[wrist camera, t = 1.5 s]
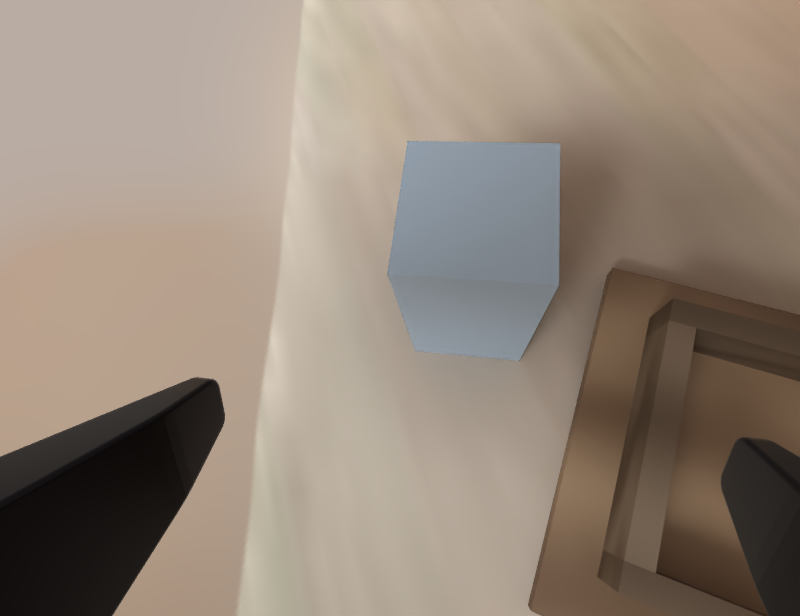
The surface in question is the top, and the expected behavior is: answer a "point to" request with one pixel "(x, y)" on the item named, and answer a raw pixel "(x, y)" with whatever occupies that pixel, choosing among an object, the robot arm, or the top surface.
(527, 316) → the block
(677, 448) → the cradle
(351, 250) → the top surface
